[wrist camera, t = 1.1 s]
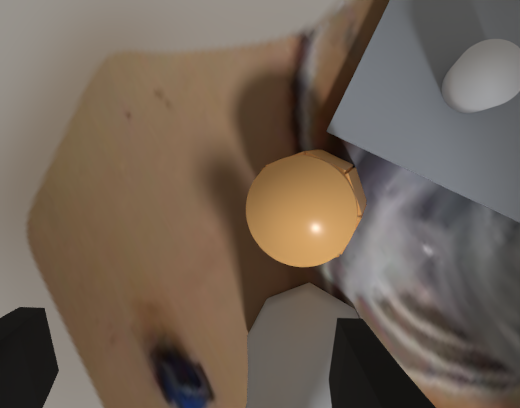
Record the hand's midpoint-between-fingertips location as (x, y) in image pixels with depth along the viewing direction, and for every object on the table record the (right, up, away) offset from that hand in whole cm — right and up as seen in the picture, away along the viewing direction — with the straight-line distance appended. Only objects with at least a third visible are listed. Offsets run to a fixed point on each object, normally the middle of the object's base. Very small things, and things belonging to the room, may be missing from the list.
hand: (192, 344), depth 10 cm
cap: (+5, +4, +12) cm, 13 cm away
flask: (+5, -5, +14) cm, 15 cm away
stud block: (+11, +9, +9) cm, 17 cm away
